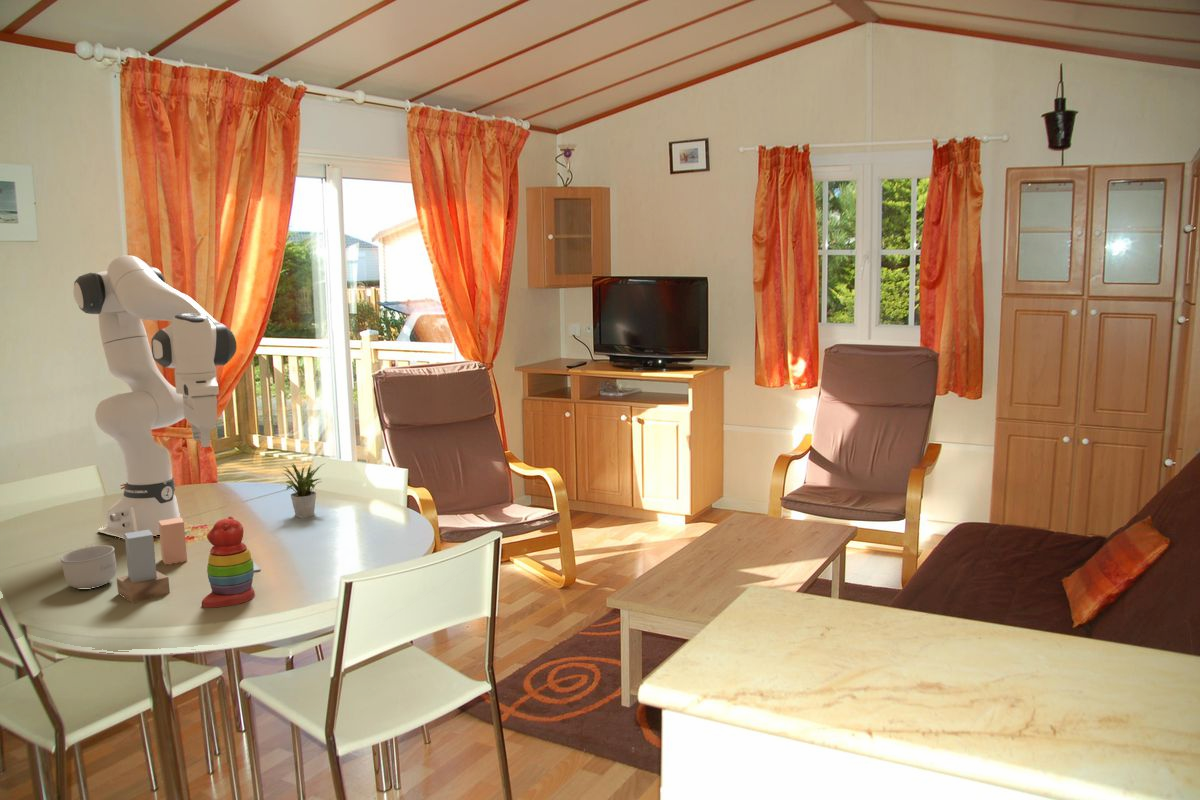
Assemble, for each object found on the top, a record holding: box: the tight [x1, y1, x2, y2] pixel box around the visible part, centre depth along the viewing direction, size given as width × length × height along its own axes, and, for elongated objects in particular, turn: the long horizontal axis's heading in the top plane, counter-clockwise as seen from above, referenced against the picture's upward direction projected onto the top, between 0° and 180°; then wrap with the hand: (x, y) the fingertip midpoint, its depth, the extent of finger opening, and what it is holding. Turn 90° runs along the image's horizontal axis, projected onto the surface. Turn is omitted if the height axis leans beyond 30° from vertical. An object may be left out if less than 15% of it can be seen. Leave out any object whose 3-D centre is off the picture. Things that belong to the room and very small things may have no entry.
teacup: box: [60, 544, 117, 589], centre depth 213 cm, size 14×11×8 cm
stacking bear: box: [201, 516, 256, 608], centre depth 201 cm, size 11×10×18 cm
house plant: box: [280, 459, 326, 518], centre depth 268 cm, size 14×14×16 cm
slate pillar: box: [124, 530, 157, 583], centre depth 205 cm, size 5×5×10 cm
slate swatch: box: [253, 562, 261, 573], centre depth 221 cm, size 6×6×1 cm
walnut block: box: [116, 570, 171, 603], centre depth 206 cm, size 8×8×4 cm
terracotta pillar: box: [158, 517, 188, 565], centre depth 229 cm, size 5×5×10 cm
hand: (201, 443), depth 215 cm, fingers open, 8 cm apart
